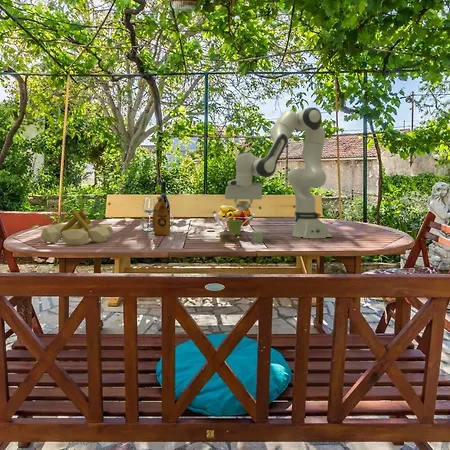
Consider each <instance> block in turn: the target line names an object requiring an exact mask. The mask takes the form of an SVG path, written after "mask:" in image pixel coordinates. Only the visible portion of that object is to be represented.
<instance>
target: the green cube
mask: <svg viewBox="0 0 450 450" xmlns="http://www.w3.org/2000/svg"><path fill="white" fill-rule="evenodd" d="M251 231H252V232H251V241H252V242H253V243H257V242H258V243H263V242H264V232H263V231H262V230H257V231H255V230H251Z"/></svg>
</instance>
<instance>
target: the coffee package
mask: <svg viewBox="0 0 450 450" xmlns="http://www.w3.org/2000/svg"><path fill="white" fill-rule="evenodd" d="M156 199H157V202H156V204H155V205H154V206H153V209H152V229H153V233H154V234H155V235H156V236H169V235H170V232H171V223H170V222H171V221H170V215H169V211H168V207H167V206H166V203H165V200H164V197H162V196H157V197H156Z"/></svg>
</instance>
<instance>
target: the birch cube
mask: <svg viewBox="0 0 450 450" xmlns="http://www.w3.org/2000/svg"><path fill="white" fill-rule="evenodd" d="M237 204H239V208H237V209H238V211H239V212H249V208H248V207H249V204H250V201H247V200H246V201H245V200H244V201H243V200H239V201H238V200H237Z"/></svg>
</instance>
